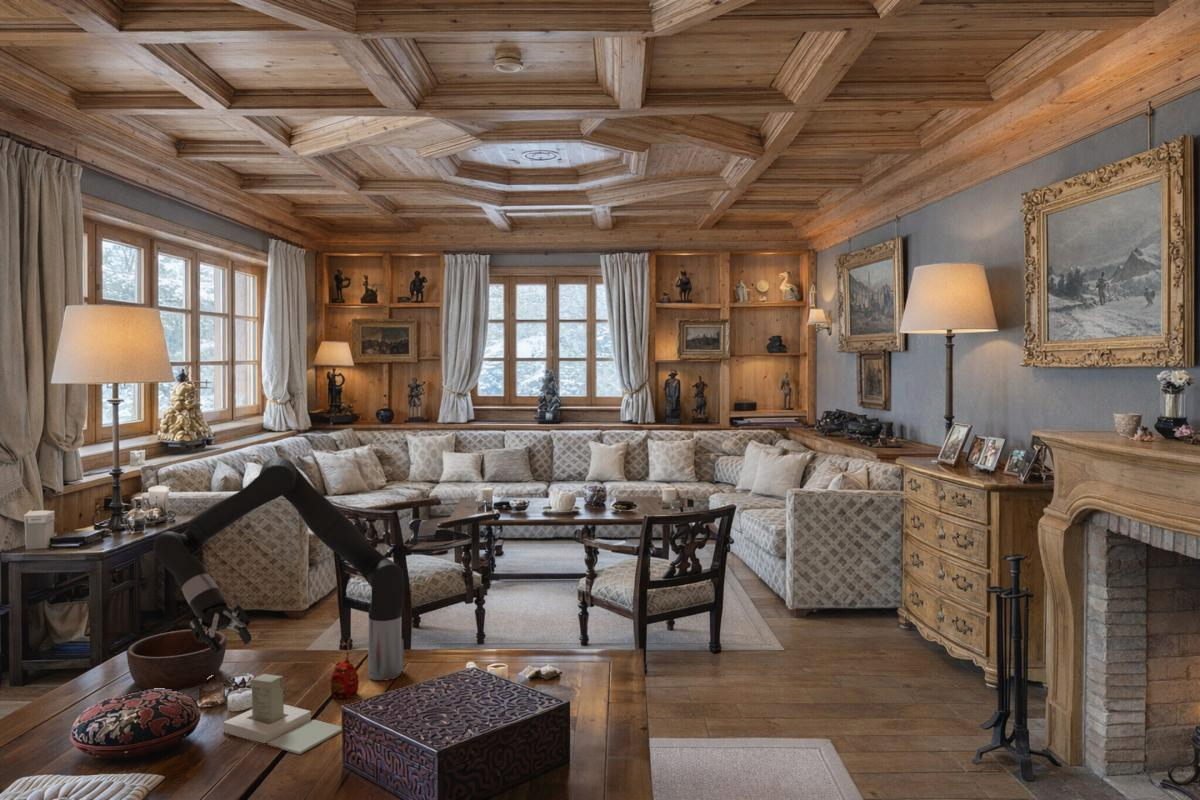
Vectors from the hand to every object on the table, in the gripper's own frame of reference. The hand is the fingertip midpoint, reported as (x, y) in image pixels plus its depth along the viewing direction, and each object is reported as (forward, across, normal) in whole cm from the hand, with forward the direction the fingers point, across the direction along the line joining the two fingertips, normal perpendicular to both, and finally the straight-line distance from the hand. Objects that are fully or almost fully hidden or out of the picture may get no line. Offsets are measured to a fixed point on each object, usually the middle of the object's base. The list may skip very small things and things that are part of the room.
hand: (234, 647), depth 194 cm
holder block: (+21, 0, +4) cm, 21 cm away
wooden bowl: (-13, +11, +38) cm, 42 cm away
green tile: (+30, 0, -5) cm, 31 cm away
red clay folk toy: (+23, +23, +2) cm, 33 cm away
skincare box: (+21, 0, +4) cm, 22 cm away
